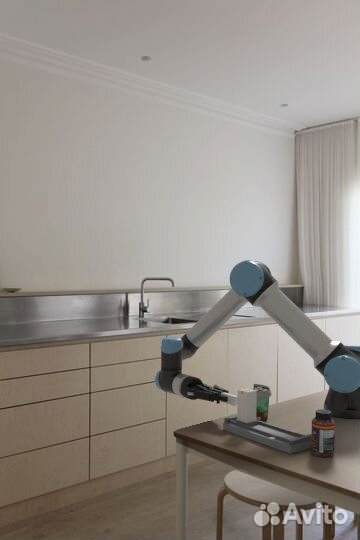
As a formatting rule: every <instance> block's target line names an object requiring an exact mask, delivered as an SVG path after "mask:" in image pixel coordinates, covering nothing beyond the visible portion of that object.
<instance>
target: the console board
mask: <svg viewBox="0 0 360 540" xmlns="http://www.w3.org/2000/svg"><path fill="white" fill-rule="evenodd" d="M236 419H237V415H234V416H230V417H225V418H224V419H223V423H222V430H223V431H226V432H229V433H232V434H235V435H237V436H240V437H242V438H245V439H248V440H252V441H255V442H257V443H260V444H263V445H265V446H268V447H271V448H273V449H276V450H279V451H281V452H284V453H287V454H290V455H292V454H294V453H295V454H296V453H297V452H301V451H303V450H307V449H311V436H312V433H309V434H306V435H305V434H302V433H299V432H296V431H295V430H294V431H293V430H290V429H286V428H283V427H281V426H277V425H273V424H271V423H267V422H266V421H264V422H262V421H259V420H258V421H259V424H257V425H253V426H248V425H245V424H242V423H239V422H236V421H235V420H236Z"/></svg>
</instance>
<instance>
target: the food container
mask: <svg viewBox="0 0 360 540" xmlns="http://www.w3.org/2000/svg"><path fill="white" fill-rule="evenodd" d="M252 390H256V391H257V402H256V420H259V421H262V422H267V421H268V418H269V409H270V408H269V406H270V397H272V395H273V394H272V391H271V388H270V387H269V386H268V385H264V384H260V383H253V388H252Z"/></svg>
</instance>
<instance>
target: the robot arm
mask: <svg viewBox="0 0 360 540" xmlns="http://www.w3.org/2000/svg"><path fill="white" fill-rule="evenodd" d="M229 285H230V287H231V288H230V289H229V290H228V291H227V293H225V294H224V296H222V297H221V298H220V299H219V300H218V301H217V302H216V303H215V304H214V305H213V306H212V307H211V308H210V309H209V310H208V311H207V312H206V313H205V314H204V315H203V316H202V317H201V318H200V319H199V320H198V321H196V322H195V324H194V325H193V326H191V328H189V329H188V330H187V332H185V334H183V335H182V336H181V337H177V336H168V337H167V336H166V337H163V338H161V342H160V343H161V345H160V370H159V371H157V372H156V375H155V376H154V377H155V378H154V384H155V385H156V387H157V388H158V389H159V390H161V391H163V392H166V393H169V394H173V395H176V396H179V397H181V398H182V399H187V400H188V399H189V400H191V401H195V400H196V401H197V400H200V401H201V400H203V401H206V402H207V401H208V402H212V403H213V402H216V404H217V405H218V404H221V402H222V403H224V404H228V405H232V406H235V407H236V406H237V402H238V395H235V394H232V393H229V392H230V391H229V390H228V389H225V388H223V387H220V386H219V385H217V384H214V385H213V386H211V385H208V384H207V383H204V382H203V381H202V380H201V379H200V378H199V377H196V376H193V375H189V374H186V373H185V374H184V373H183V371H182V370H183V361H186V360H188V359H190V358H192V357H193V356H194V355H195V354H196V353H197V351H198V350H199V349H200V348H201V347H202V346H203V345H204V344H205V343H206V342H207V341H208V340H209V339H210V338H211V337H212V336H213V335H215V333H217V332H218V331H219V330H220V329H221V328H222V327H223V326H224V325H225V324H226V323H227V322H228V321H229V320H230V319H231V318H233V317H234V316H235V315H236V314H237V312H239V311H240V310H241V309H242V307H244V306H245V305H246V304H247V303H249V304H250V305H252V306H253V307H259V308H261V309H262V310H263V311H264V312H265V313H266V314H267V315H268V316H269V317H270V318H271V319H272V320H273V321H274V322H275V323H276V325H278V326H279V328H281V329H282V330H283V331H284V332H285V333H286V334H287V335H288V336H289V337H290V338H291V339H292V340H293V341H294V342H295V343H296V344H297V345H298V346H299V347H300V348H301V349H302V350H303V351H304V352H305V353H306V354H307V355H308V356H309V357H310V358H312V360H313V367H314V369H316V371H318V372H319V373H320V374H321V376H322V377H323V378H324V381H325V382H326V385H327V386H328V390H327V394H326V397H325V399H324V403H323V409H325V410H329V411H331V417H332V416H333V417H337V418H343V419H360V345H349V344H347V345H345V344H343V343H342V342H341V341H340V340H337V341H336V340H332V338H330V337H329V336H328V335H327V333H325V332H324V331H323V330H322V329H321V328H320V327H319V326H318V325H317V324H316V323H315V322H314V321H312V320H311V319H310V317H309V316H308V315H307V314H306V313H304V312H303V310H302V309H300V308H299V307H298V306H297V305H296V304H295V303H294V302H293V300H291V299H290V298H289V297H288V296H287V295H286V294H285V293H284V292H283V291H282V290H281V289H280V288H279V281H278V280H277V279H276V278H275V277H274V276H273V275H272V273H271V270H270V268H269V267H268V266H267V265H266V264H265V263H263V262H261V261H257V260H255V261H254V260H250V259H249V260H248V259H247V260H245V259H244V260H243V261H241V262H238V263H236V265H234V266H233V267H232V269H231V271H230V274H229Z"/></svg>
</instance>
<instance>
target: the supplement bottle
mask: <svg viewBox="0 0 360 540" xmlns="http://www.w3.org/2000/svg"><path fill="white" fill-rule="evenodd" d="M311 434H312V436H311V448H310V450H311V453H312V454H313V455H315V456H316V457H322V458H330V457H333V456H334V455H335V450H336V449H335V446H336V445H335V443H336V435H335V434H336V423H335V420H334V419H332V415H331V411H329V410H325V409H324V408H321V409H316V410H315V416H314V417H313V418H312V420H311Z"/></svg>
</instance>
